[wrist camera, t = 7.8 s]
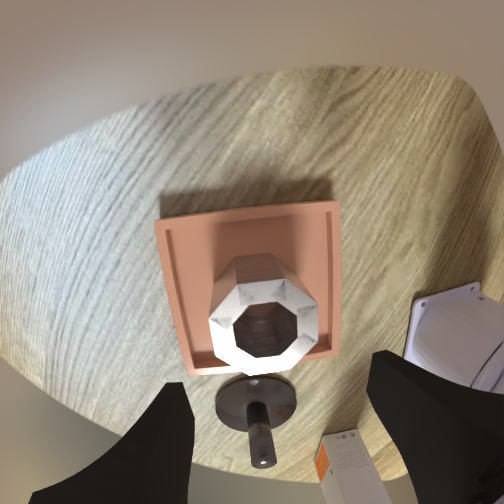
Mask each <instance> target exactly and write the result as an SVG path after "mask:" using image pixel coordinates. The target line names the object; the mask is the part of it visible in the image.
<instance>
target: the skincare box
mask: <svg viewBox="0 0 504 504" xmlns="http://www.w3.org/2000/svg"><path fill="white" fill-rule="evenodd" d="M314 464H315V467H316V470H317V474H318V477H319V481H320V484H321V487H322V491H323V494H324V497H325V501H326V504H392V502H391V500H390V498H389V496H388V493H387V491H386V489H385V487H384V485H383V483H382V480H381V478H380V476H379V474H378V472H377V470H376V468H375V466H374V463H373V461H372V459H371V457H370V455H369V453H368V451H367V448H366V446H365V444H364V442H363V440H362V438H361V436H360V434H359V432H358V430H357V429H353V430H349V431H344V432H340V433H335V434H329V435H324V436H322V440H321V443H320V447H319V450H318V453H317V455H316V458H315V460H314Z"/></svg>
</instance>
